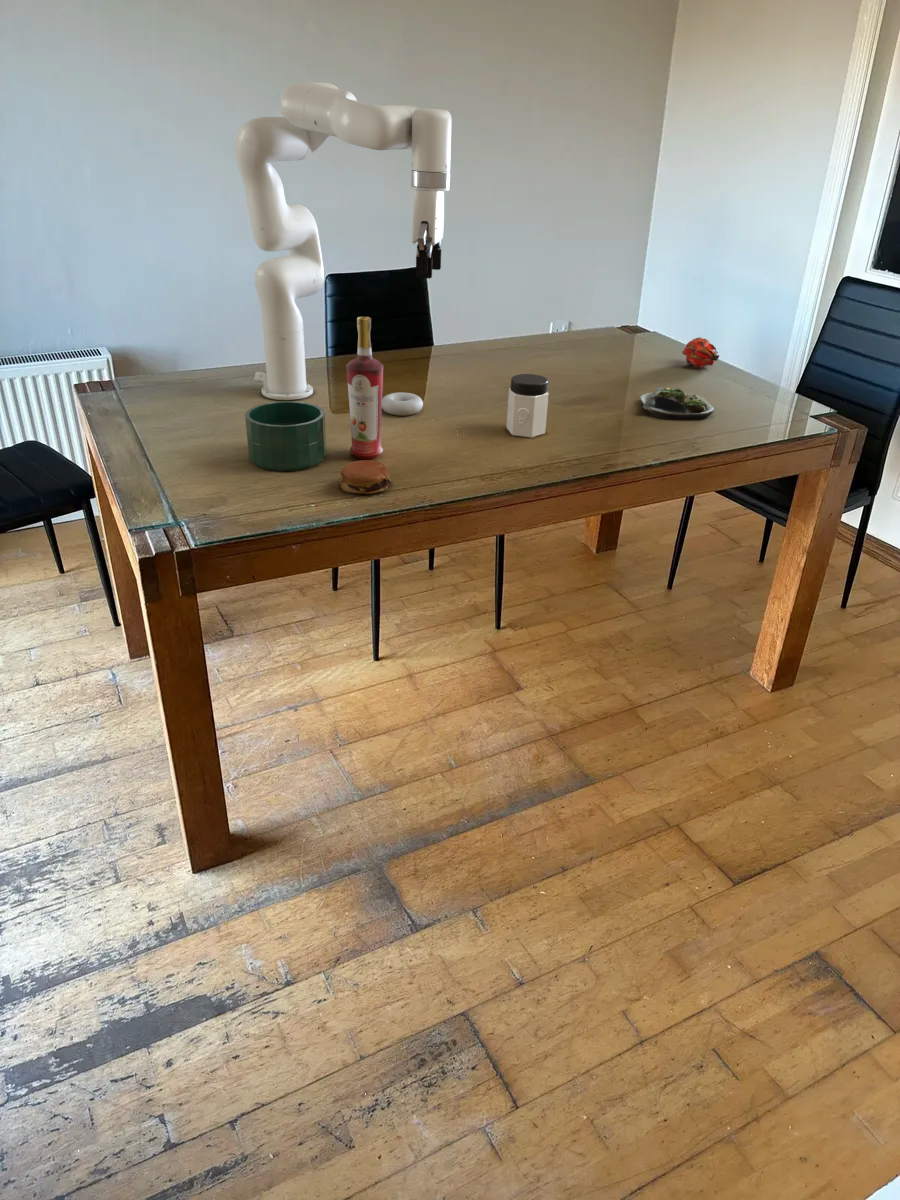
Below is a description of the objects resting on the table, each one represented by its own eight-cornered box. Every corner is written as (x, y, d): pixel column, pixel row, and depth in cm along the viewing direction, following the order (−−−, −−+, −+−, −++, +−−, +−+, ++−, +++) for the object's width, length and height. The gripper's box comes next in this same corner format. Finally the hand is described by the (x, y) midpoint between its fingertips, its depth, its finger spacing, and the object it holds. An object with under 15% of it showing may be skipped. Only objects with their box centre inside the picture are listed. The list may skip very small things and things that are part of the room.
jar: (501, 434, 195) (505, 381, 189) (510, 423, 202) (514, 371, 196) (541, 439, 193) (545, 386, 187) (548, 428, 200) (553, 376, 194)
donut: (376, 415, 204) (417, 419, 202) (375, 401, 202) (417, 404, 201) (387, 403, 213) (427, 406, 211) (386, 389, 211) (427, 392, 209)
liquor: (344, 460, 179) (340, 321, 165) (354, 448, 185) (350, 312, 171) (379, 463, 178) (378, 323, 164) (387, 451, 184) (386, 315, 170)
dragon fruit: (684, 365, 256) (710, 382, 247) (670, 350, 250) (696, 367, 242) (704, 341, 253) (731, 357, 245) (690, 326, 248) (717, 342, 239)
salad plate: (627, 394, 224) (630, 376, 221) (696, 395, 225) (699, 378, 222) (644, 419, 207) (647, 400, 205) (718, 421, 208) (722, 402, 206)
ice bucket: (234, 464, 175) (229, 419, 170) (274, 440, 188) (271, 397, 183) (302, 477, 171) (300, 431, 166) (339, 451, 183) (337, 407, 178)
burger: (331, 483, 168) (330, 461, 166) (373, 474, 173) (372, 452, 171) (357, 502, 162) (356, 478, 159) (399, 491, 166) (399, 468, 164)
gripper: (420, 176, 177) (419, 265, 186) (402, 184, 163) (401, 280, 171) (456, 178, 176) (453, 267, 185) (441, 186, 162) (438, 282, 170)
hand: (428, 273), depth 178 cm, fingers open, 9 cm apart
